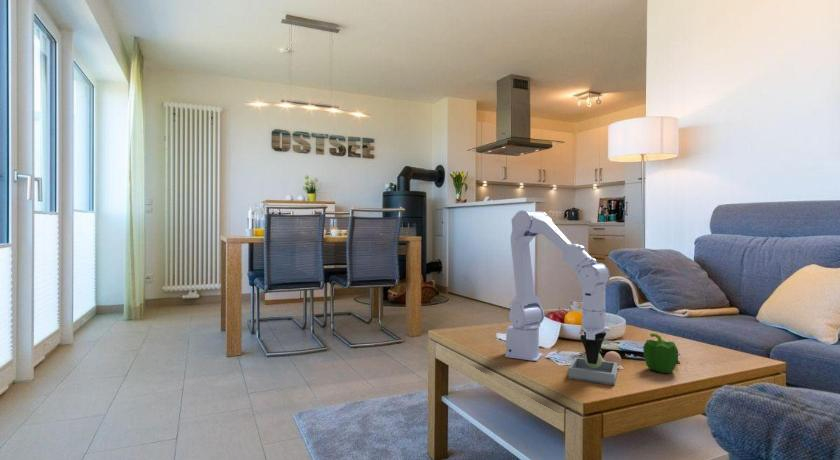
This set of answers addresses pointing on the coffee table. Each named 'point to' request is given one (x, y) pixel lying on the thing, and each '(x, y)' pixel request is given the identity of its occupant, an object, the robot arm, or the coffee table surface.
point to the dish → (593, 372)
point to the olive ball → (594, 364)
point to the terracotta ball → (613, 357)
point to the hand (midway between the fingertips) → (593, 361)
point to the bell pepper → (660, 354)
